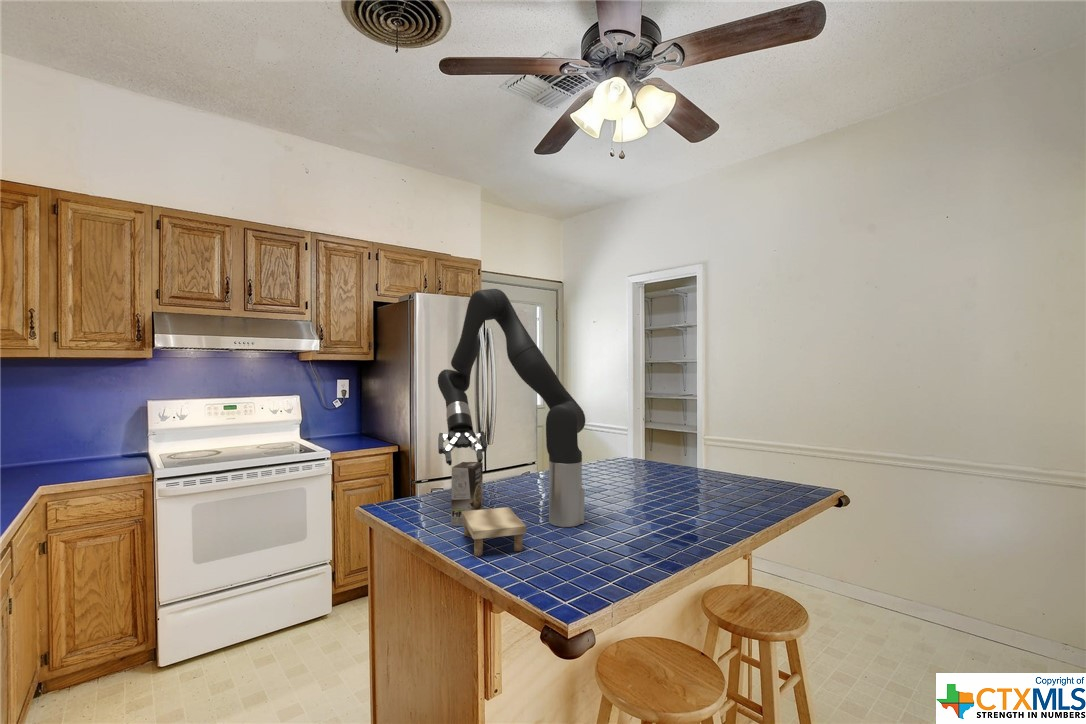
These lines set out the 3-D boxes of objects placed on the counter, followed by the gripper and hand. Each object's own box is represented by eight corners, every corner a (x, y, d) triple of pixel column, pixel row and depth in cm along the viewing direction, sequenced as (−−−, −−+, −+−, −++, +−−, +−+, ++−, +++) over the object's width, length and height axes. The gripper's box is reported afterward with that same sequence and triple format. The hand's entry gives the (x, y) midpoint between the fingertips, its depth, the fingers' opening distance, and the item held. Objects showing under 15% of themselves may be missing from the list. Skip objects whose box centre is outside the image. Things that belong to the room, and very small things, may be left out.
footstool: (508, 529, 134) (508, 507, 134) (526, 551, 118) (526, 526, 119) (461, 534, 130) (461, 511, 130) (473, 557, 115) (473, 531, 115)
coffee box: (472, 527, 136) (472, 468, 136) (450, 526, 137) (450, 467, 137) (483, 517, 145) (483, 461, 145) (462, 516, 146) (462, 460, 146)
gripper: (437, 412, 152) (441, 456, 141) (483, 411, 156) (491, 454, 145) (435, 427, 157) (439, 472, 146) (480, 426, 161) (487, 469, 150)
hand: (465, 463), depth 145 cm, fingers open, 8 cm apart
